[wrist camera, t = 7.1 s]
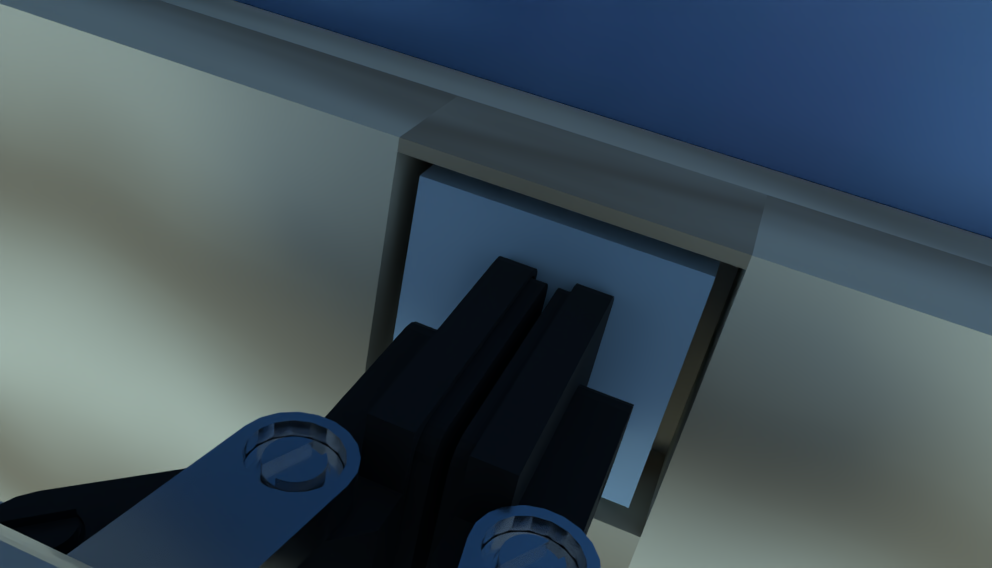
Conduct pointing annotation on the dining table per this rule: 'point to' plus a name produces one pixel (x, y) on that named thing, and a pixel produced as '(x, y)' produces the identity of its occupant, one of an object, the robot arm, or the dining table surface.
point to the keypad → (380, 268)
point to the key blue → (561, 264)
